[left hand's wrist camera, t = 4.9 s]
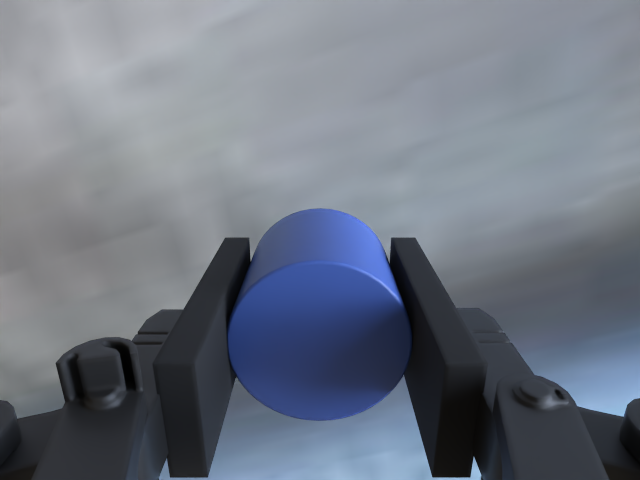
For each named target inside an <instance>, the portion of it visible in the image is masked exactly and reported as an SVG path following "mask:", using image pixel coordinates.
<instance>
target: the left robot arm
mask: <svg viewBox="0 0 640 480" xmlns="http://www.w3.org/2000/svg"><path fill="white" fill-rule="evenodd" d="M250 263H251V261H250V244H249V238H225V239H224V241H223V243H222V244H221V246H220V248H219V250H218V251H217V253H216V255H215V256H214V258H213V260H212V262H211V263H210V265H209V267H208V268H207V270H206V272H205V274H204V275H203V277H202V279H201V280H200V282H199V284H198V286H197V287H196V289H195V291H194V293H193V294H192V296H191V298H190V299H189V301H188V303H187V305H186V306H185V308H184V310H161V311H159V312H158V313H156V314H155V315H153V316H152V317H150V318H149V319H147V320H146V321H145V323H144V324H143V326H142V327H141V328H140V330H139V331H138V335H135V337H134V338H133V340H132V341H131V340H128V339H124V338H120V337H108V338H101V339H96V340H91V341H88V342H86V343H83V344H81V345H78V346H75V347H74V348H72V349H71V350H69V351H68V352H66V353H65V354H63V355H62V356H61V358H60V359H59V360H58V361H57V362H56V367H57V371H58V375H59V379H60V383H61V387H62V391H63V395H64V399H65V404H64V406H63V408H62V409H59V410H55V411H52V412H47V413H42V414H38V415H33V416H28V417H24V418H19V419H17V416H16V413H15V410H14V407H13V406H12V405H11V404H10V403H9V402H7V401H2V400H0V480H159V476H160V473H161V471H162V468H163V466H164V463H165V461H166V458H167V461H168V467H169V473H170V477H208V475H209V471H210V468H211V464H212V461H213V457H214V453H215V450H216V446H217V443H218V439H219V435H220V432H221V428H222V425H223V421H224V418H225V414H226V410H227V407H228V403H229V400H230V396H231V392H232V389H233V385H234V382H235V378H236V375H235V373H234V370H233V368H232V366H231V363H230V360H229V357H228V346H227V327H228V322H229V319H230V316H231V313H232V310H233V307H234V305H235V302H236V300H237V297H238V294H239V292H240V289H241V286H242V284H243V281H244V279H245V276H246V273H247V271H248V268H249V266H250ZM390 267H391V269H392V272H393V275H394V278H395V280H396V283H397V286H398V289H399V291H400V294H401V297H402V300H403V302H404V305H405V308H406V311H407V313H408V316H409V320H410V323H411V328H412V335H413V339H412V351H411V357H410V360H409V363H408V366H407V368H406V370H405V373H404V377H405V380H406V384H407V387H408V391H409V395H410V398H411V402H412V405H413V409H414V412H415V416H416V420H417V423H418V427H419V430H420V434H421V438H422V441H423V445H424V448H425V452H426V456H427V459H428V463H429V466H430V470H431V474H432V477H470V476H471V469H472V463H473V457H475V460H476V462H477V465H478V467H479V470H480V472H481V475H482V476H481V480H640V398H639V399H634V400H633V401H631V402H630V403H629V404H628V405H627V408H626V411H625V415H624V417H621V416H616V415H612V414H607V413H602V412H598V411H593V410H589V409H585V408H582V407H578V406H577V405H576V403H575V401H574V400H573V398H572V397H571V396H570V394H569V393H568V392H567V391H566V390H565V389H563V388H562V387H560V386H559V385H558V384H556V383H554V382H552V381H550V380H548V379H546V378H543V377H540V376H536V375H534V374H533V372H532V371H531V369H530V368H529V367H528V365H527V364H526V362H525V361H524V360H523V358H522V357H521V355H520V354H519V353H518V351H517V350H516V348H515V347H514V346H513V344H512V343H510V340H509V339H508V337H507V336H506V334H505V333H503V330H502V329H501V327H500V326H499V325H498V323H497V322H496V320H495V319H494V318H493V317H491V316H490V315H488V314H487V313H485V312H484V311H482V310H481V309H479V308H456V307H455V306H454V304H453V302H452V300H451V299H450V297H449V295H448V293H447V292H446V290H445V288H444V287H443V285H442V283H441V281H440V280H439V278H438V276H437V275H436V273H435V271H434V269H433V268H432V266H431V264H430V262H429V261H428V259H427V257H426V256H425V254H424V252H423V250H422V249H421V247H420V245H419V244H418V242H417V240H416V238H391V252H390Z"/></svg>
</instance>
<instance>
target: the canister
mask: <svg viewBox="0 0 640 480" xmlns="http://www.w3.org/2000/svg"><path fill="white" fill-rule="evenodd" d="M412 339H413V335H412V328H411V323H410V320H409V316H408V313H407V311H406V308H405V305H404V302H403V300H402V297H401V294H400V291H399V289H398V286H397V283H396V280H395V278H394V275H393V272H392V269H391V267H390V264H389V261H388V258H387V256H386V253H385V250H384V248H383V246H382V244H381V242H380V241H379V239H378V237H377V236H376V235H375V234H374V232H373V231H372V230H371V229H370V228H369V227H368V226H367V225H365V224H364V223H363V222H361V221H360V220H358V219H357V218H355V217H353V216H351V215H349V214H346V213H343V212H340V211H336V210H331V209H309V210H303V211H299V212H296V213H293V214H291V215H289V216H287V217H285V218H283V219H281V220H280V221H278V222H277V223H276V224H274V225H273V226H272V227H271V228H270V229H269V230H268V231H267V232H266V233H265V234H264V236H263V237H262V239H261V240H260V242H259V244H258V246H257V248H256V250H255V252H254V255H253V258H252V260H251V263H250V266H249V268H248V271H247V273H246V276H245V279H244V281H243V284H242V286H241V289H240V292H239V294H238V297H237V300H236V302H235V305H234V307H233V310H232V313H231V316H230V319H229V322H228V327H227V346H228V357H229V360H230V363H231V366H232V368H233V370H234V373H235V375H236V376H237V378H238V380H239V381H240V383H241V384H242V385H243V386H244V388H245V389H246V390H247V391H248V392H249V393H250V394H251V395H252V396H253V397H254V398H255V399H257V400H258V401H259V402H261V403H262V404H264V405H265V406H267V407H269V408H271V409H272V410H274V411H277V412H279V413H282V414H284V415H287V416H290V417H294V418H299V419H305V420H316V421H323V420H335V419H341V418H345V417H349V416H352V415H355V414H358V413H360V412H363V411H365V410H367V409H369V408H371V407H372V406H374V405H375V404H377V403H378V402H380V401H381V400H382V399H384V398H385V397H386V396H387V395H388V394H389V393H390V392H391V391H392V390H393V389H394V388H395V387H396V385H397V384H398V383H399V381H400V380H401V378H402V377H403V375H404V373H405V370H406V368H407V366H408V363H409V360H410V357H411V351H412Z"/></svg>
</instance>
